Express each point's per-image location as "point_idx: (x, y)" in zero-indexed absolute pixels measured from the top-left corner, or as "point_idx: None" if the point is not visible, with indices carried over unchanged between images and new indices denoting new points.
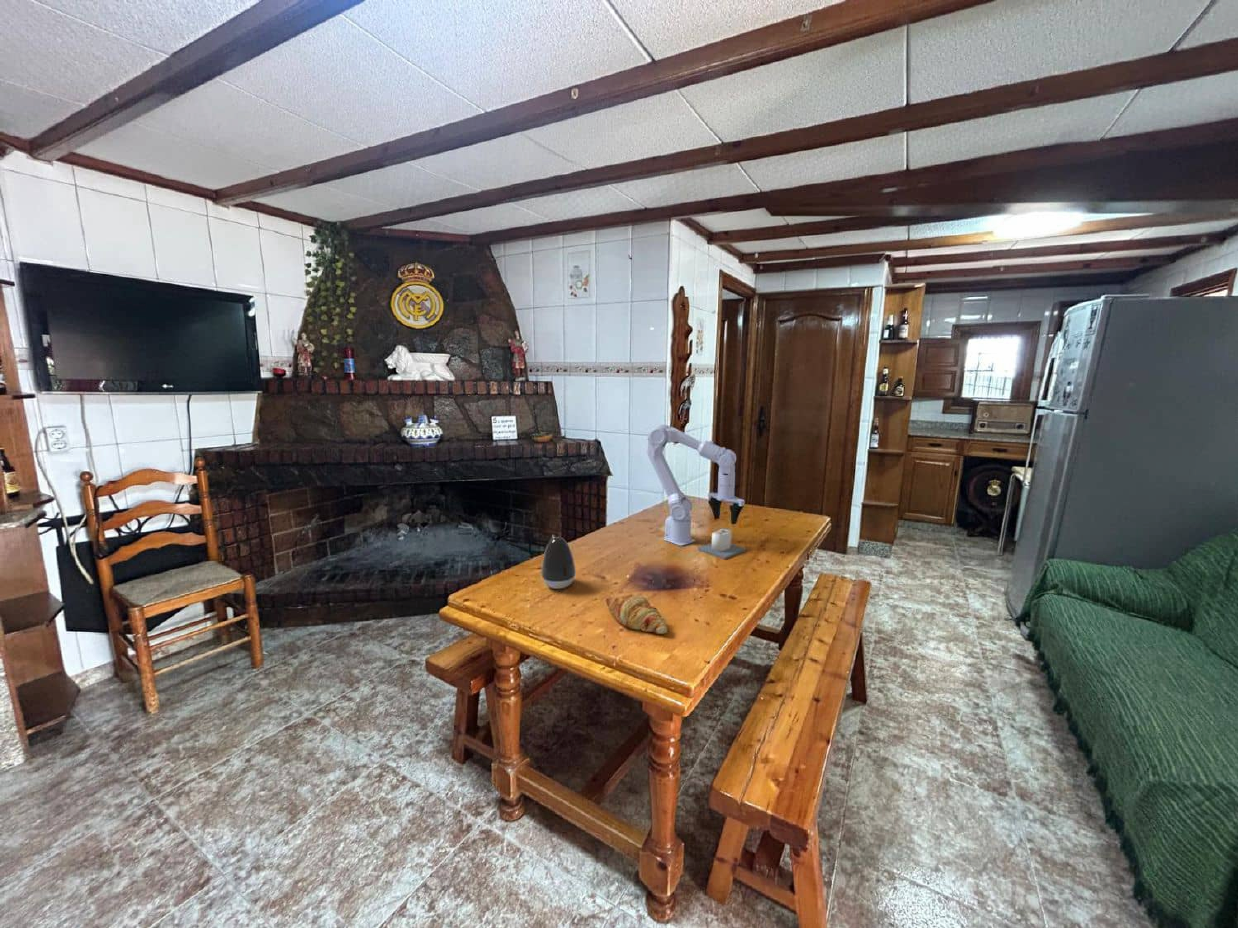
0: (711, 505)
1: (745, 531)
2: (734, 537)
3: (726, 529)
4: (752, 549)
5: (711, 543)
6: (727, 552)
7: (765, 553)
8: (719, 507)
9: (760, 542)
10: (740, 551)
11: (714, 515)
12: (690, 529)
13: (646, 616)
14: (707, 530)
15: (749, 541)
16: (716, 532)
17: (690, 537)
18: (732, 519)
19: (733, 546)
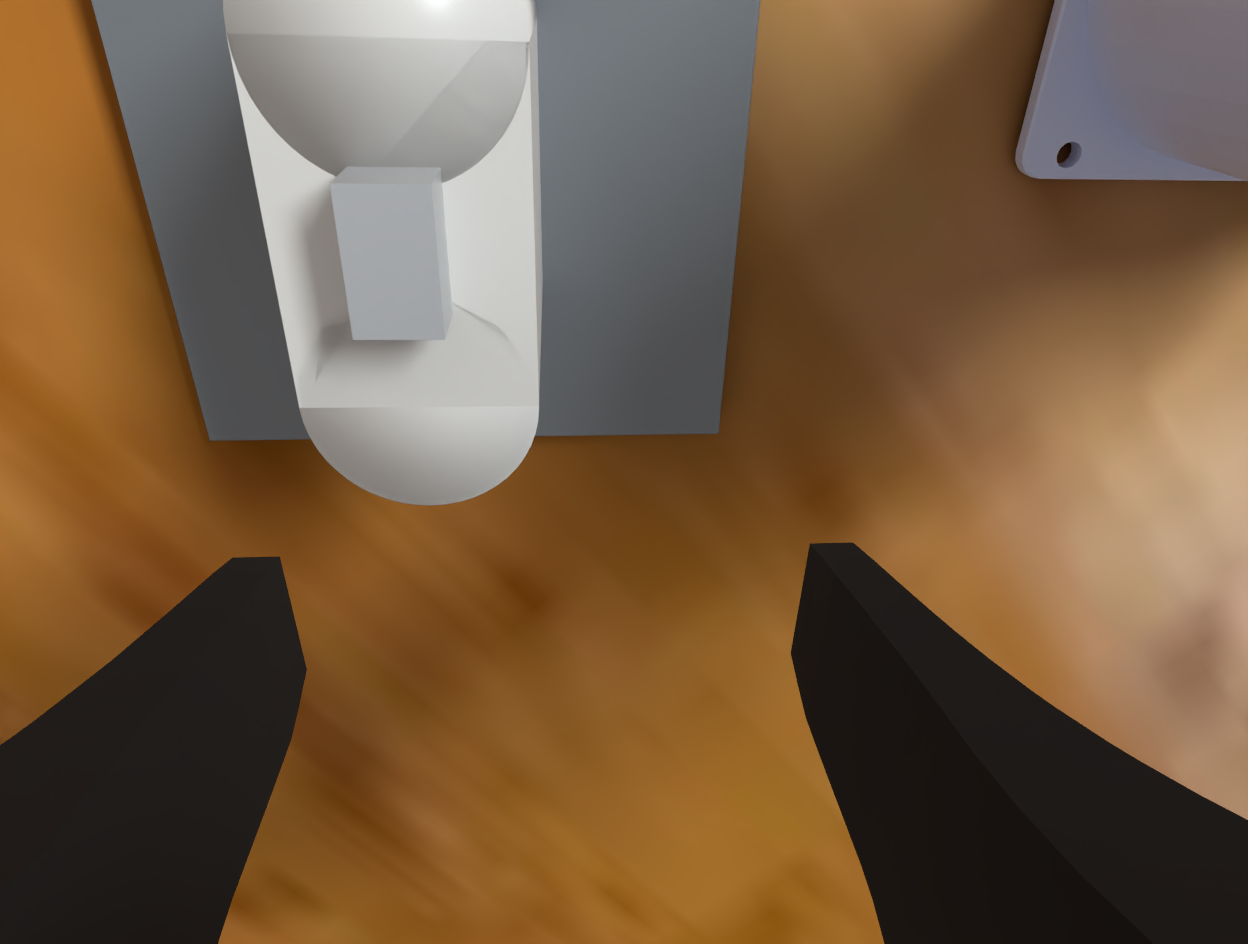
0: (1171, 834)
1: (687, 835)
2: (663, 656)
3: (474, 467)
4: (217, 517)
5: (713, 222)
6: (230, 69)
7: (4, 526)
8: (898, 935)
9: (349, 730)
10: (177, 299)
11: (874, 595)
12: (1246, 89)
13: None
14: (1057, 612)
15: (452, 677)
16: (474, 122)
17: (1126, 83)
18: (149, 638)
19: None
